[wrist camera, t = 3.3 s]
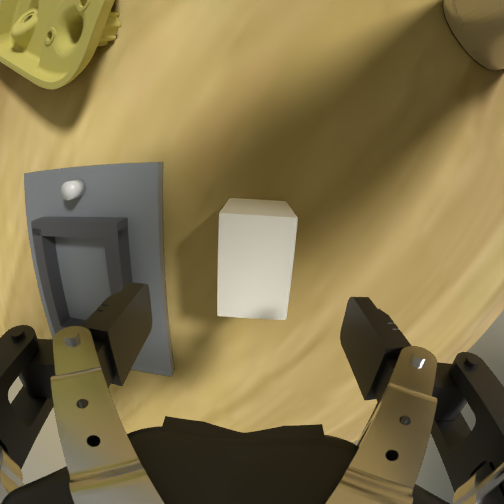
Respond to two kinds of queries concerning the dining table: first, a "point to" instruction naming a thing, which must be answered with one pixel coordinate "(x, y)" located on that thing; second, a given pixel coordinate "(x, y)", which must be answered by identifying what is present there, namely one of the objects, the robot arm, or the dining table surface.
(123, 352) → the robot arm
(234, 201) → the block
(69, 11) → the plastic component
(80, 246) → the housing plate
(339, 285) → the dining table surface
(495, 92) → the dining table surface
